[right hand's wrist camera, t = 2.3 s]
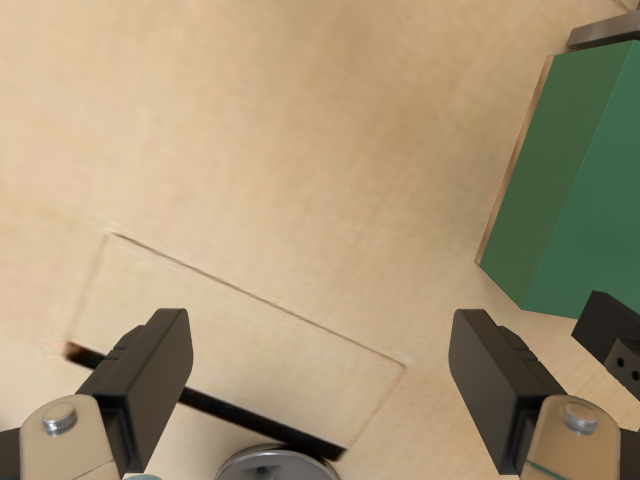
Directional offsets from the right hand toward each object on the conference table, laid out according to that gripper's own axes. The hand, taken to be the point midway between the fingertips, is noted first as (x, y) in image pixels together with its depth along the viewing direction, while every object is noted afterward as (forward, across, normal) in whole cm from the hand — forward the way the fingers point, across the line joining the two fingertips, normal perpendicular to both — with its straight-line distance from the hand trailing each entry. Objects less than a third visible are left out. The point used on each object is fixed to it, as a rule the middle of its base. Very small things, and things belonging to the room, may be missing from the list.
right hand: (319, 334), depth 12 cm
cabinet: (+23, -22, 0) cm, 32 cm away
